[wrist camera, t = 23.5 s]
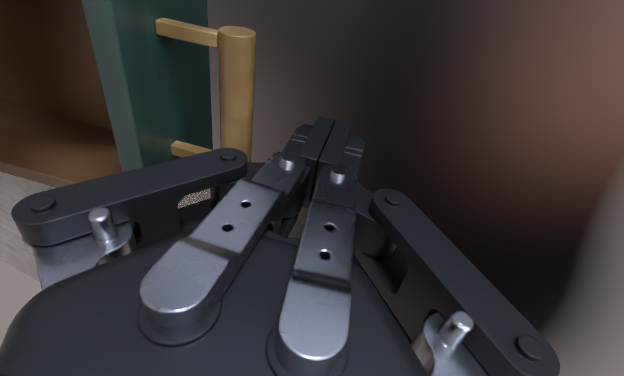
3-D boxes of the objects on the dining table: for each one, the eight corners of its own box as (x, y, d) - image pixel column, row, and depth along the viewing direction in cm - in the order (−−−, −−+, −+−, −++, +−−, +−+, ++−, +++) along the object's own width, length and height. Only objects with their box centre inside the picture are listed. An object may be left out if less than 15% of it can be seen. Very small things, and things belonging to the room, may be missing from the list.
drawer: (293, -66, 15) (226, -70, 10) (271, 179, 23) (228, 252, 18) (-103, -141, 17) (-344, -179, 12) (6, 109, 25) (-105, 154, 20)
